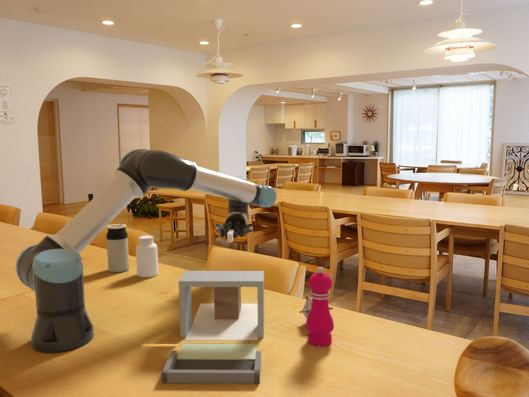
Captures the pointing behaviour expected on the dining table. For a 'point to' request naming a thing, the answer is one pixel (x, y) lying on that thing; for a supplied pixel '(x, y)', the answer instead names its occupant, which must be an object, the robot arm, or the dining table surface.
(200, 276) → the tunnel
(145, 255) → the pill bottle
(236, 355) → the pad
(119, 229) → the travel mug
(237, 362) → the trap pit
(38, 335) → the robot arm
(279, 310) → the dining table surface
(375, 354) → the dining table surface
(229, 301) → the walnut block
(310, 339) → the pepper mill
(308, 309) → the game die
